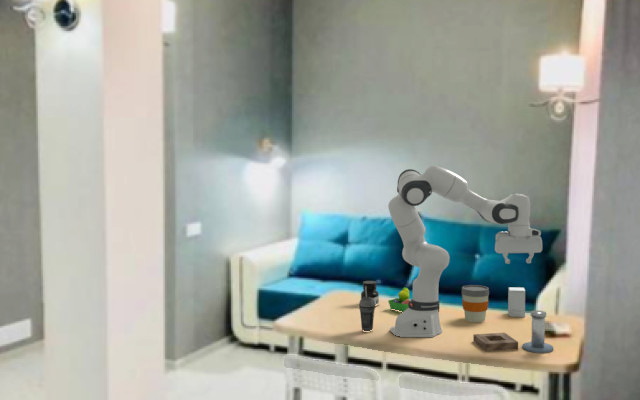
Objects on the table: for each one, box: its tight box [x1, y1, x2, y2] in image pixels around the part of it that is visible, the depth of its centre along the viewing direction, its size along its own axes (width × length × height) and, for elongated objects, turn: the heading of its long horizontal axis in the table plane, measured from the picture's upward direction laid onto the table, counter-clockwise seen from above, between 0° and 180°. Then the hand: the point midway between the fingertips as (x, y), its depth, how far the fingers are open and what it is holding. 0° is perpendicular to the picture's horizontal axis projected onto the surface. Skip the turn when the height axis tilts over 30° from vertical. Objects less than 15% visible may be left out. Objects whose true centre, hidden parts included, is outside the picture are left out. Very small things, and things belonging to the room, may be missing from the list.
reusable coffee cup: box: [461, 284, 490, 323], centre depth 328 cm, size 12×12×15 cm
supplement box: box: [507, 286, 526, 318], centre depth 335 cm, size 7×7×13 cm
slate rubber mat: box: [521, 341, 554, 354], centre depth 285 cm, size 12×12×1 cm
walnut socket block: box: [472, 332, 519, 352], centre depth 289 cm, size 14×14×3 cm
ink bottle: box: [360, 280, 380, 305], centre depth 357 cm, size 10×9×12 cm
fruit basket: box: [387, 287, 410, 312], centre depth 346 cm, size 11×9×11 cm
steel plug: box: [530, 309, 547, 348], centre depth 284 cm, size 6×6×14 cm
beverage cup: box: [358, 286, 376, 331], centre depth 311 cm, size 7×7×20 cm
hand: (518, 263), depth 303 cm, fingers open, 8 cm apart
